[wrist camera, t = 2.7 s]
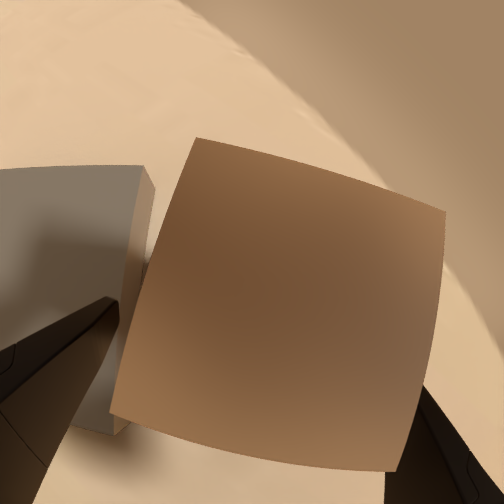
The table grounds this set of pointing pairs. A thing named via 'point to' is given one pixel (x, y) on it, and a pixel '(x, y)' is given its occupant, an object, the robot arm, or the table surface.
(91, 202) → the plate
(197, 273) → the walnut block
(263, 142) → the table surface
